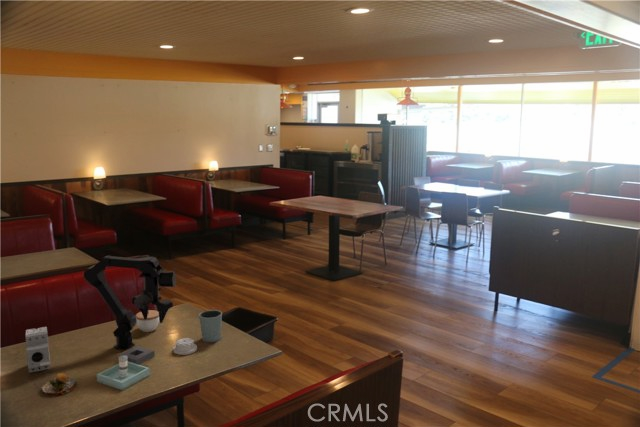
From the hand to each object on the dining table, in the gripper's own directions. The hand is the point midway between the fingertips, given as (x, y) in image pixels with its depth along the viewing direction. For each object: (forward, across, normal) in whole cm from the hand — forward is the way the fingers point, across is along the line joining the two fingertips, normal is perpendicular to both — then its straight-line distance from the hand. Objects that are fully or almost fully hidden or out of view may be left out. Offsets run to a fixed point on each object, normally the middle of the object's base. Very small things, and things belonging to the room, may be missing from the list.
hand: (153, 320), depth 233 cm
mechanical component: (+12, +14, +4) cm, 19 cm away
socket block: (+12, +2, -12) cm, 17 cm away
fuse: (+11, +11, -27) cm, 31 cm away
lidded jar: (+12, -17, +13) cm, 25 cm away
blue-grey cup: (+12, +16, +19) cm, 28 cm away
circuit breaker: (+12, -24, -38) cm, 47 cm away
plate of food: (+12, -4, -44) cm, 46 cm away
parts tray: (+12, +11, -27) cm, 32 cm away
